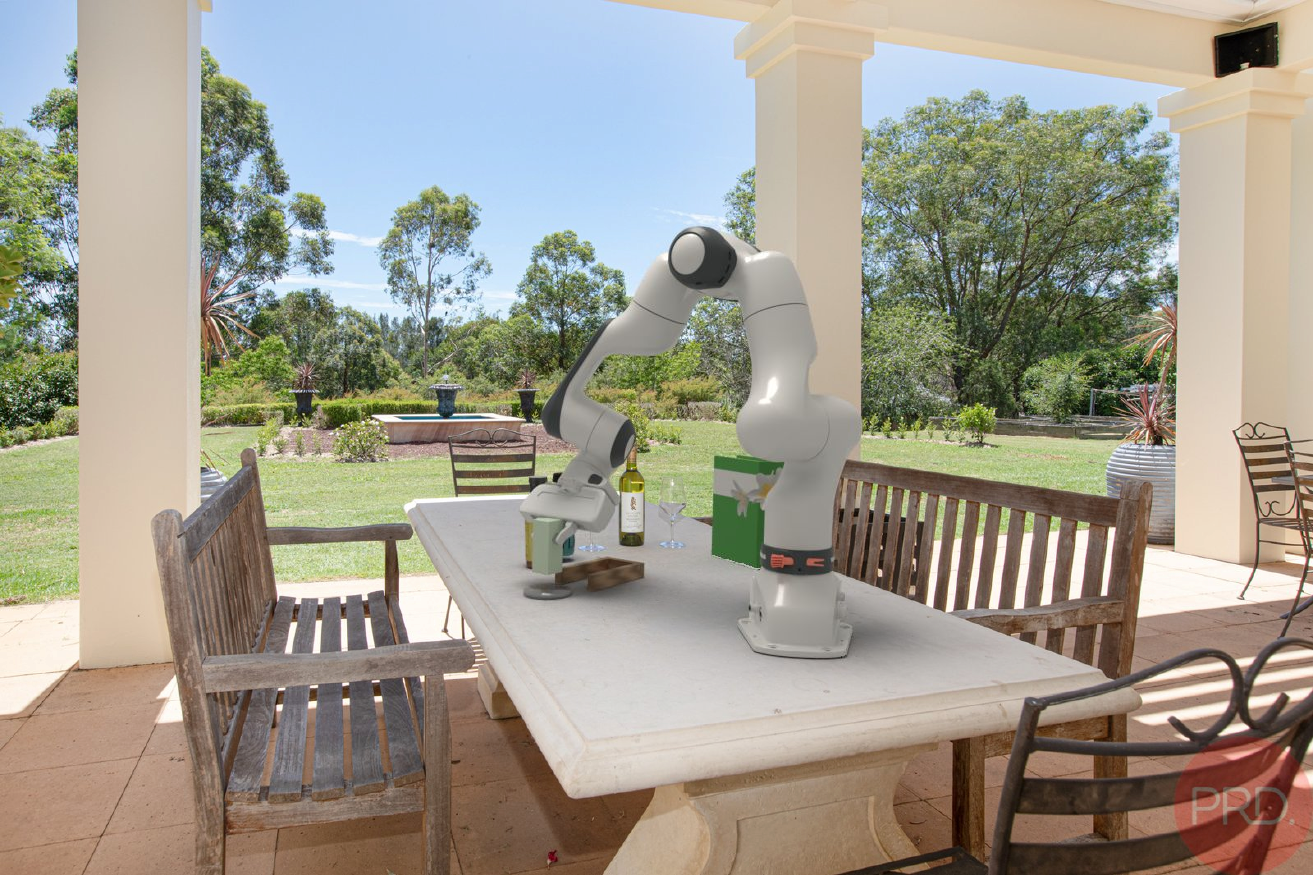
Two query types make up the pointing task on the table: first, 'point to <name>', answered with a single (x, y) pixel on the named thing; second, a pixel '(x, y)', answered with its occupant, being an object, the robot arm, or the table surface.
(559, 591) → the coaster
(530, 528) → the sauce bottle
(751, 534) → the green gift bag
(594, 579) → the channel
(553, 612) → the table surface
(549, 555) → the block
